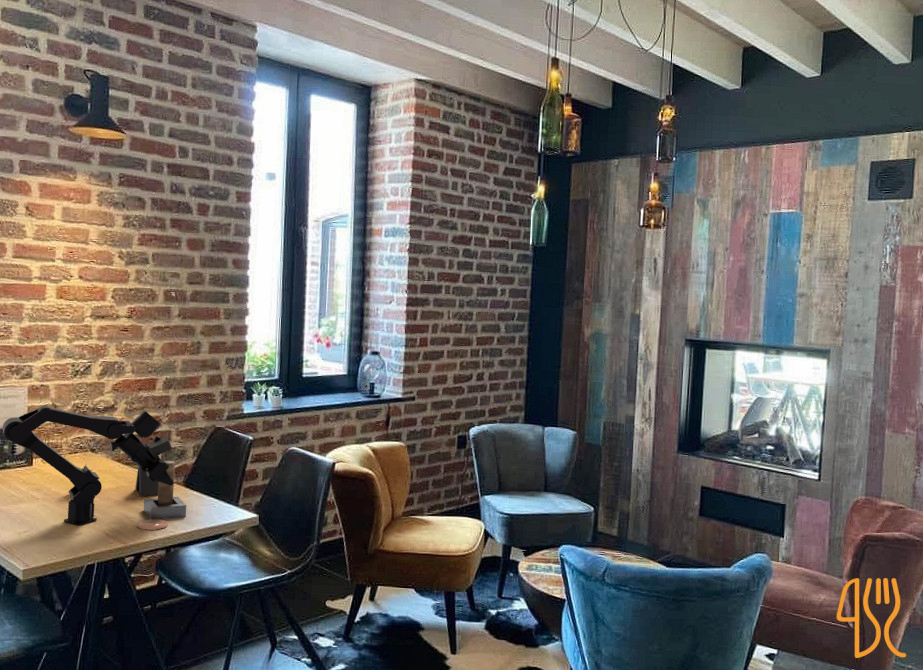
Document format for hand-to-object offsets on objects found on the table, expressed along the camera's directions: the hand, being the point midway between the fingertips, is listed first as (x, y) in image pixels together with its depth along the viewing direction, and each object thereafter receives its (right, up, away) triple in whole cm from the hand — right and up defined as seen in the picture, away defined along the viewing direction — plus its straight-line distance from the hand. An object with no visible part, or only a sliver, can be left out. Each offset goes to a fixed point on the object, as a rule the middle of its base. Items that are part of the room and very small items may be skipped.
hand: (170, 482), depth 245 cm
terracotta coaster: (-1, -10, -13) cm, 16 cm away
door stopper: (-16, -7, +21) cm, 27 cm away
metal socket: (-2, -10, 0) cm, 10 cm away
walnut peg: (-2, -8, 0) cm, 8 cm away
